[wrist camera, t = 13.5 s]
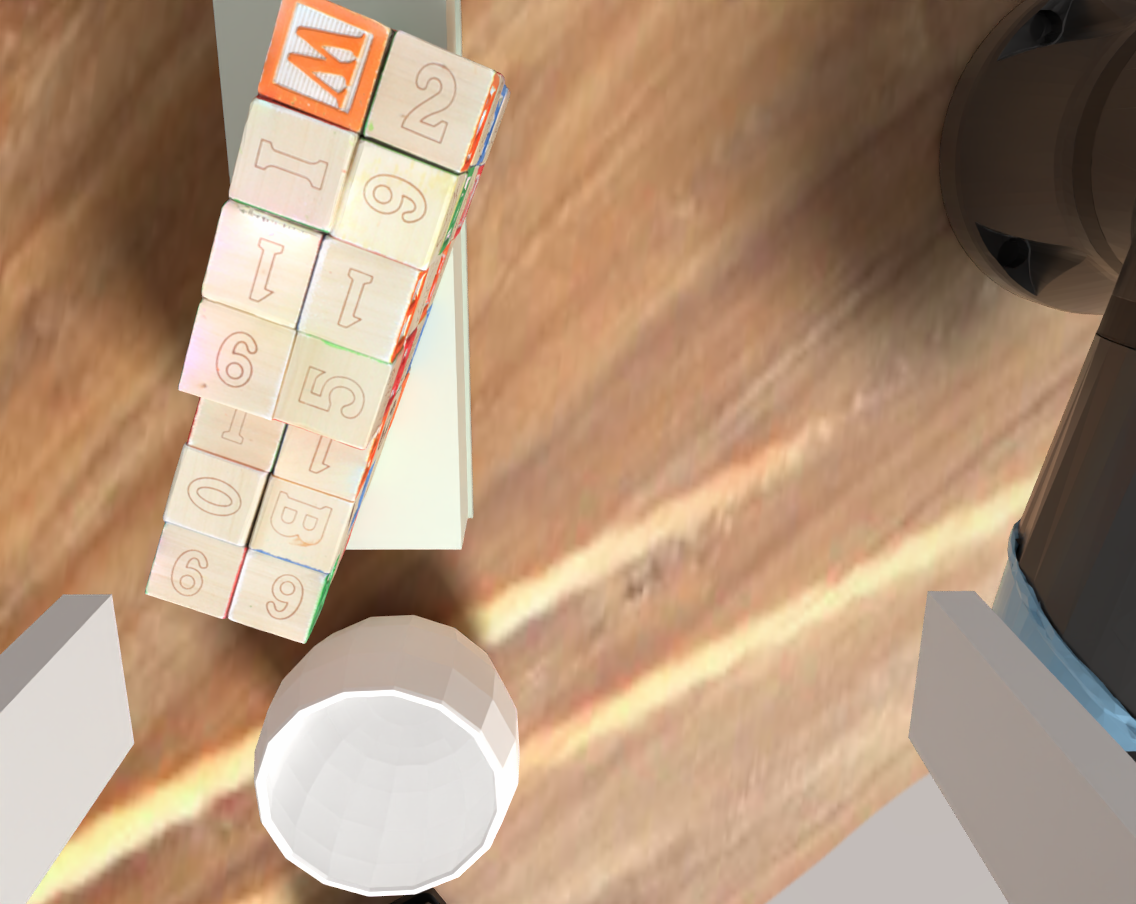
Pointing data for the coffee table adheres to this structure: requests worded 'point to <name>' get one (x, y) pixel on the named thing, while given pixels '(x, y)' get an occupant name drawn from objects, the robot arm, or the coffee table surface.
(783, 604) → the coffee table surface
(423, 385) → the plinth
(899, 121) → the coffee table surface
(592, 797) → the coffee table surface
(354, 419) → the stack of blocks
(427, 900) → the end cap
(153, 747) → the coffee table surface
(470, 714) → the cup
